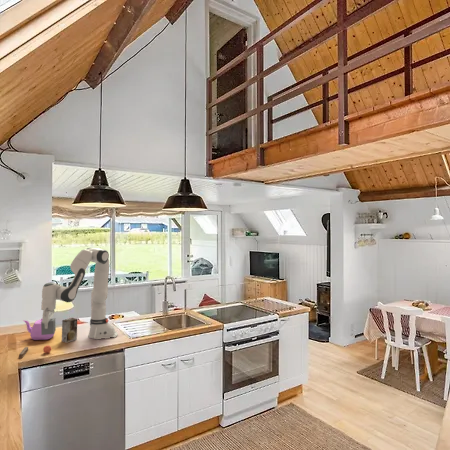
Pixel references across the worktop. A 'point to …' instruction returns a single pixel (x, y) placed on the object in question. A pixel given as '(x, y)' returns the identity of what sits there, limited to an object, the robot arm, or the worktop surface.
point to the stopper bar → (23, 352)
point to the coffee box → (69, 330)
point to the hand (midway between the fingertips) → (47, 326)
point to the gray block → (50, 329)
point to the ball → (47, 349)
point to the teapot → (37, 331)
